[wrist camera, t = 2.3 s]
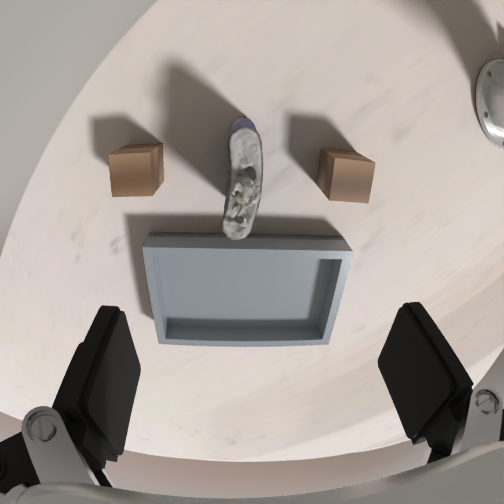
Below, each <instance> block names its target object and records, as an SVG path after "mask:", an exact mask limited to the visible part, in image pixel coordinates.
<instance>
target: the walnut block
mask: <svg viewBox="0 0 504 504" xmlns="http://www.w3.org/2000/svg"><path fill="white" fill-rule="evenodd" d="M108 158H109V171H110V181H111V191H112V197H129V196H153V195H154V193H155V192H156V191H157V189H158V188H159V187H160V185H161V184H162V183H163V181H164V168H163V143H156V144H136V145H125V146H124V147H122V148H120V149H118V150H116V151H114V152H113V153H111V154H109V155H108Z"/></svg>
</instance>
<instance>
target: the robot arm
mask: <svg viewBox="0 0 504 504" xmlns="http://www.w3.org/2000/svg"><path fill="white" fill-rule="evenodd" d="M476 106H477V113H478V116H479V120H480V123H481V126H482V128H483V130H484V132H485V134H486V136H487V137H488V138H489V139H490V141H491V142H492V143H494V144H495V145H496V146H498V147H501V148H503V149H504V60H499V59H498V60H492V61H489V62H488V63H487V64H485V65H484V67H483V68H482V70H481V72H480V74H479V77H478V81H477V85H476ZM378 367H379V369H380V372H381V374H382V376H383V379H384V381H385V383H386V386H387V388H388V391H389V393H390V395H391V398H392V400H393V403H394V405H395V408H396V410H397V413H398V415H399V418H400V420H401V423H402V425H403V428H404V430H405V433H406V435H407V437H408V438H409V439H411V440H412V443H413V445H415V444H418V443H421V442H424V441H426V440H427V443H428V448H427V451H426V454H425V456H424V459H423V461H422V464H421V466H420V467H418V468H415V469H412V470H409V471H405V472H402V473H399V474H396V475H392V476H389V477H385V478H381V479H378V480H374V481H370V482H366V483H361V484H357V485H352V486H348V487H343V488H337V489H333V490H327V491H320V492H313V493H306V494H299V495H290V496H278V497H264V498H243V499H242V498H241V499H218V498H215V499H214V498H192V497H178V496H168V495H158V494H150V493H142V492H136V491H129V490H123V489H117V488H115V486H114V484H113V483H112V481H111V480H110V478H109V477H108V475H107V473H106V472H105V470H104V468H105V464H106V460H109V461H114V462H117V457H118V455H122V453H123V451H124V446H125V441H126V436H127V431H128V426H129V421H130V416H131V412H132V407H133V403H134V398H135V394H136V390H137V385H138V381H139V377H140V372H141V367H140V363H139V359H138V356H137V353H136V350H135V347H134V343H133V340H132V337H131V333H130V330H129V326H128V323H127V319H126V315H125V313H124V311H120V309H119V307H117V306H103V305H102V306H101V307H100V308H99V310H98V312H97V314H96V316H95V318H94V321H93V323H92V325H91V327H90V329H89V331H88V333H87V335H86V337H85V340H84V342H81V343H80V344H79V345H78V347H77V349H76V351H75V353H74V355H73V358H72V360H71V362H70V364H69V367H68V369H67V371H66V374H65V376H64V378H63V381H62V383H61V386H60V388H59V390H58V393H57V395H56V398H55V401H54V403H53V406H52V408H50V407H48V406H40V407H36V408H34V409H32V410H31V411H29V412H28V413H27V414H26V416H25V417H24V419H23V422H22V431H21V432H19V433H18V434H16V435H14V436H12V437H10V438H8V439H6V440H4V441H2V442H0V504H504V409H503V404H502V400H501V397H500V396H499V394H498V393H497V392H496V391H495V390H494V389H492V388H490V387H488V386H479V387H477V388H475V390H472V388H471V387H472V386H473V384H474V383H473V382H472V380H471V378H470V377H469V375H468V373H467V372H466V370H465V369H464V367H463V365H462V364H461V362H460V360H459V359H458V357H457V356H456V354H455V353H454V351H453V349H452V348H451V346H450V345H449V343H448V342H447V340H446V339H445V337H444V336H443V334H442V333H441V331H440V330H439V328H438V327H437V325H436V324H435V323H434V321H433V320H432V318H431V317H430V315H429V314H428V312H427V311H426V310H425V308H424V307H423V305H422V304H421V303H420V302H410V303H404V304H403V306H402V307H401V308H399V310H398V312H397V315H396V317H395V320H394V322H393V325H392V327H391V330H390V332H389V335H388V337H387V340H386V342H385V344H384V347H383V349H382V351H381V354H380V356H379V358H378Z"/></svg>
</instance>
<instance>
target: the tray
mask: <svg viewBox="0 0 504 504" xmlns="http://www.w3.org/2000/svg"><path fill="white" fill-rule="evenodd" d="M142 249H143V257H144V264H145V270H146V277H147V283H148V289H149V295H150V301H151V306H152V312H153V317H154V322H155V327H156V332H157V337H158V342H159V344H171V345H192V346H227V347H270V346H305V345H325V344H328V343H329V340H330V337H331V333H332V330H333V326H334V323H335V319H336V316H337V312H338V308H339V304H340V301H341V297H342V293H343V289H344V285H345V281H346V277H347V273H348V269H349V264H350V260H351V256H352V250H351V248H350V247H349V245H348V244H347V242H346V241H345V239H344V238H343V237H339V236H308V235H271V234H248V236H247V237H246V238H244V239H241V240H229V239H228V238H227V237H226V236H225V235H224V233H150V234H149V236H148V237H147V239H146V241H145V243H144V245H143V247H142Z"/></svg>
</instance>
